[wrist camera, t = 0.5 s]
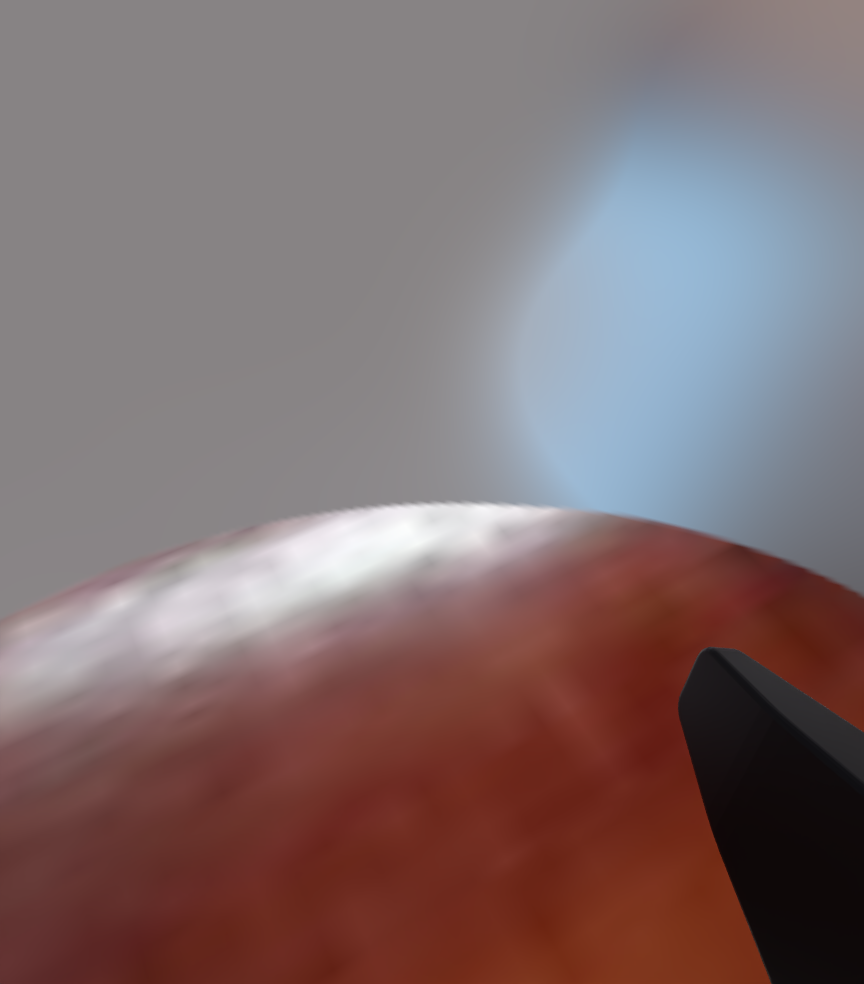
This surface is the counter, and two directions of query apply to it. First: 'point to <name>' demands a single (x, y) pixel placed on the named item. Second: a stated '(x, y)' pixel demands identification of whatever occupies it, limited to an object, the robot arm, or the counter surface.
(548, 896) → the counter surface
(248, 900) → the counter surface
